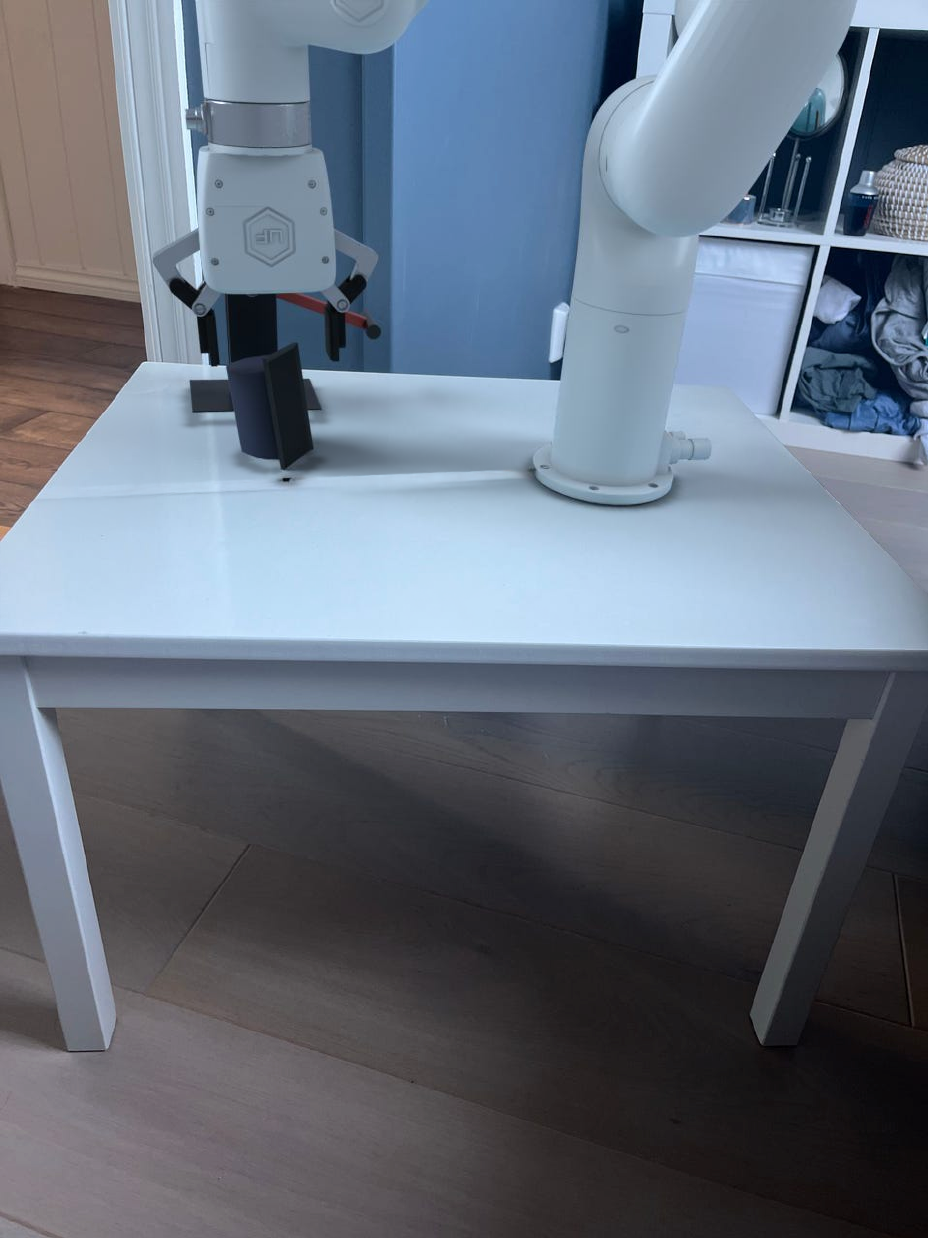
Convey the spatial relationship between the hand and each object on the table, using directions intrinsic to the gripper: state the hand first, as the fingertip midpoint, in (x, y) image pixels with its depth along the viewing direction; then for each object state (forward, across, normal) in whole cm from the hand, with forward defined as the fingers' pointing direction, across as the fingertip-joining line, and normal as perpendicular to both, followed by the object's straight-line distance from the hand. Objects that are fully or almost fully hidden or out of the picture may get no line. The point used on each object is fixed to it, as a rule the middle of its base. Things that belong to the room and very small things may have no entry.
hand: (274, 359), depth 80 cm
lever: (0, +4, +14) cm, 15 cm away
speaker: (+9, -1, 0) cm, 9 cm away
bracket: (+9, -1, +14) cm, 17 cm away
